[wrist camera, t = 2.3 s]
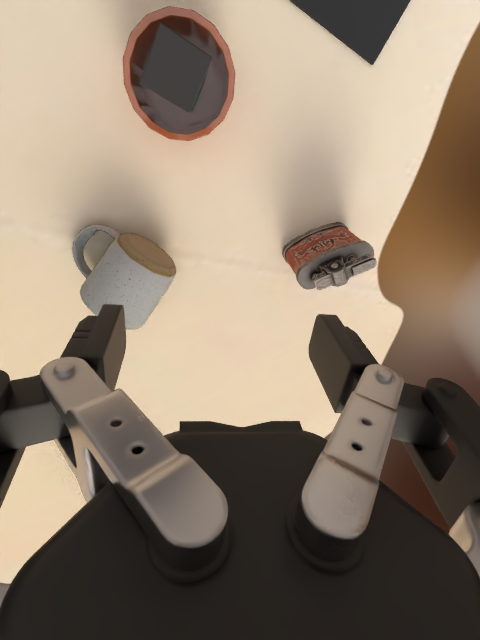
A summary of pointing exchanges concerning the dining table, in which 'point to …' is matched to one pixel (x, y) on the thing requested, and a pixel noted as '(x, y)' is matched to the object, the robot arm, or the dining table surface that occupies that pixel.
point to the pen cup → (213, 91)
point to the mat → (357, 21)
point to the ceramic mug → (125, 275)
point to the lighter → (328, 256)
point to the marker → (175, 68)
